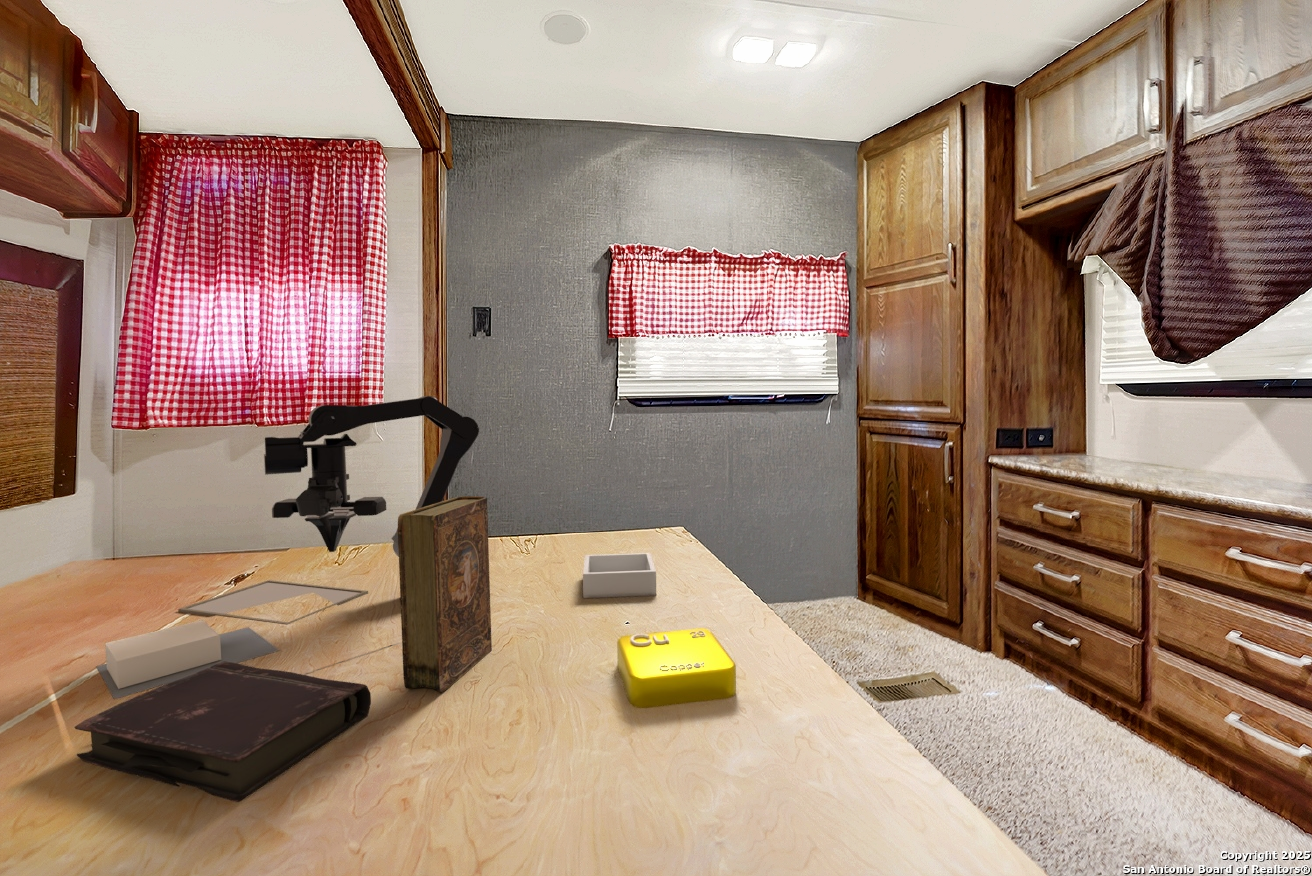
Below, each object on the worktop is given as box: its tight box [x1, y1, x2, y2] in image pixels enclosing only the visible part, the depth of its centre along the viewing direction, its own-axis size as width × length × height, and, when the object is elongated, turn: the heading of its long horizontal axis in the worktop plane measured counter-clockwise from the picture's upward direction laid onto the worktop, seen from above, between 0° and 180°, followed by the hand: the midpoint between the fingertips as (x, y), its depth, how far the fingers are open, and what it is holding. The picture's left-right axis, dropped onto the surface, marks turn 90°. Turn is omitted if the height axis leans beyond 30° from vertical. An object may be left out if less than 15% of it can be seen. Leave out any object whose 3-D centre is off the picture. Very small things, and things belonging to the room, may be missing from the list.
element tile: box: [616, 628, 737, 709], centre depth 85 cm, size 15×15×5 cm
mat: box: [96, 626, 281, 700], centre depth 93 cm, size 20×16×1 cm
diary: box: [74, 661, 372, 803], centre depth 71 cm, size 19×25×5 cm
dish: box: [582, 552, 657, 599], centre depth 128 cm, size 15×15×5 cm
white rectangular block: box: [104, 619, 221, 689], centre depth 90 cm, size 4×10×12 cm
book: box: [397, 495, 493, 693], centre depth 88 cm, size 16×6×25 cm, turn 168°
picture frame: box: [177, 579, 369, 625], centre depth 120 cm, size 19×1×28 cm
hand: (332, 551), depth 113 cm, fingers closed
